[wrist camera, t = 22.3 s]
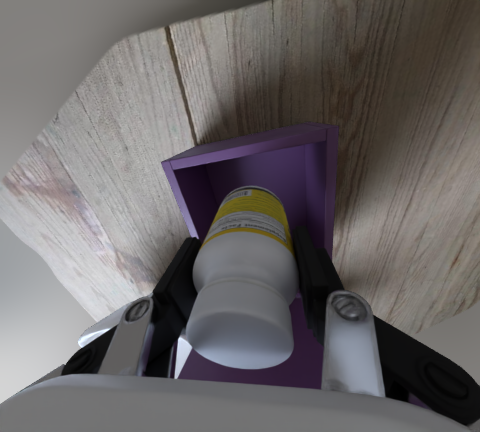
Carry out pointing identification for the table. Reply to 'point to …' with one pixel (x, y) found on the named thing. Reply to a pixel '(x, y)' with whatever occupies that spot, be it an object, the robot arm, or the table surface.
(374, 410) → the robot arm
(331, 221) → the purple box
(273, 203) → the supplement bottle
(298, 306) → the lid
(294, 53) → the table surface
